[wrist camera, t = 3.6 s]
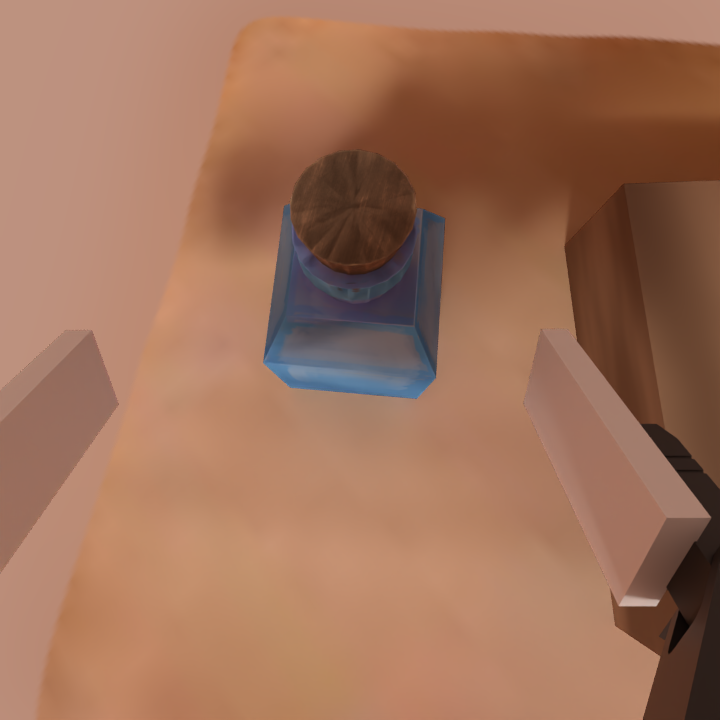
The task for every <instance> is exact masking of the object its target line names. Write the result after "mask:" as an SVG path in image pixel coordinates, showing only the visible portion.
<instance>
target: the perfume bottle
mask: <svg viewBox="0 0 720 720" xmlns="http://www.w3.org/2000/svg"><path fill="white" fill-rule="evenodd" d="M444 229H445V218H443V217H441V216H438V215H436V214H434V213H431V212H429V211H427V210H424V209H420V208H417V205H416V196H415V191H414V189H413V187H412V185H411V183H410V181H409V179H408V176H407V175H406V174H405V173H404V172H403V171H402V170H401V169H400V168H399V167H398V166H397V165H396V164H395V163H394V162H392V161H390V160H389V159H387V158H385V157H383V156H381V155H379V154H377V153H373V152H368V151H363V150H344V151H338V152H335V153H332V154H329V155H327V156H324V157H321V158H320V159H319V160H317V161H316V162H314V163H313V164H312V165H310V166H309V167H308V168H306V170H305V171H304V172H303V174H302V175H301V176H300V178H299V179H298V181H297V182H296V183H295V186H294V189H293V193H292V196H291V199H290V204H288V205H285V206H284V211H283V219H282V226H281V234H280V241H279V249H278V256H277V264H276V271H275V279H274V286H273V294H272V301H271V309H270V316H269V323H268V331H267V338H266V346H265V353H264V361H263V363H264V364H265V365H266V366H267V367H268V368H269V369H270V370H271V371H273V372H274V373H275V374H276V375H277V376H278V377H279V378H280V379H281V380H282V381H284V382H285V383H286V384H287V385H288V386H289V387H290V388H301V389H312V390H324V391H335V392H346V393H358V394H369V395H380V396H392V397H403V398H414V399H417V398H418V397H419V396H420V395H421V394H422V392H423V391H424V390H425V389H426V388H427V387H428V386H429V385H430V384H431V383H432V382H433V381H434V379H435V378H436V367H437V350H438V333H439V316H440V298H441V281H442V264H443V246H444Z"/></svg>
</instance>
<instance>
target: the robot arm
mask: <svg viewBox="0 0 720 720" xmlns="http://www.w3.org/2000/svg"><path fill="white" fill-rule="evenodd" d="M523 404H524V406H525V408H526V410H527V412H528V414H529V416H530V419H531V421H532V423H533V425H534V427H535V429H536V431H537V433H538V436H539V438H540V440H541V442H542V444H543V446H544V448H545V450H546V453H547V455H548V457H549V459H550V461H551V463H552V465H553V468H554V470H555V472H556V474H557V476H558V478H559V480H560V482H561V485H562V487H563V489H564V491H565V493H566V495H567V497H568V499H569V502H570V504H571V506H572V508H573V510H574V512H575V514H576V516H577V519H578V521H579V523H580V525H581V527H582V529H583V531H584V534H585V536H586V538H587V540H588V542H589V544H590V546H591V548H592V551H593V553H594V555H595V557H596V559H597V561H598V563H599V565H600V568H601V570H602V572H603V574H604V576H605V578H606V580H607V582H608V585H609V587H610V589H611V591H612V593H613V595H614V597H615V599H616V602H617V604H618V606H657V604H658V603H659V601H660V600H661V598H662V596H663V595H664V593H665V592H666V590H668V591H669V593H670V595H671V596H672V598H673V600H674V602H675V603H676V605H677V607H678V609H677V610H676V612H675V613H674V615H673V616H672V618H671V619H670V621H669V622H668V624H667V625H666V627H665V628H664V629H663V631H662V632H661V634H660V635H659V637H660V638H662V639H663V640H665V639H666V640H665V643H664V647H663V650H662V654H661V657H660V661H659V664H658V668H657V671H656V675H655V678H654V682H653V685H652V689H651V692H650V696H649V699H648V703H647V706H646V710H645V713H644V717H643V720H720V489H719V488H718V487H717V485H716V484H715V483H714V482H713V481H712V479H711V478H710V477H709V476H708V475H707V473H704V472H703V469H702V467H701V466H700V465H699V464H698V463H697V461H696V460H695V459H692V455H691V454H690V453H689V452H688V450H687V449H686V448H685V447H684V446H683V444H682V443H681V442H680V441H679V440H678V438H676V437H675V436H673V435H672V434H670V433H669V432H668V431H666V430H665V429H663V428H662V427H661V426H659V425H658V424H640V423H639V422H638V421H637V419H636V418H635V417H634V416H633V414H632V413H631V412H630V410H629V409H628V408H627V406H626V405H625V404H624V402H623V401H622V400H621V398H620V397H619V396H618V395H617V393H616V392H615V391H614V389H613V388H612V387H611V385H610V384H609V383H608V381H607V380H606V379H605V377H604V376H603V375H602V374H601V372H600V371H599V370H598V368H597V367H596V366H595V364H594V363H593V362H592V360H591V359H590V358H589V356H588V355H587V354H586V353H585V351H584V350H583V349H582V347H581V346H580V345H579V343H578V342H577V341H576V339H575V338H574V337H573V335H572V334H571V333H570V332H569V330H568V329H541V332H540V336H539V340H538V344H537V349H536V353H535V357H534V361H533V365H532V370H531V374H530V378H529V382H528V386H527V391H526V395H525V399H524V403H523ZM118 405H119V403H118V400H117V398H116V395H115V392H114V390H113V387H112V384H111V381H110V379H109V376H108V373H107V370H106V368H105V365H104V363H103V359H102V357H101V354H100V351H99V349H98V346H97V343H96V340H95V337H94V335H93V332H92V330H65V331H64V332H63V333H62V334H61V335H60V336H59V337H58V338H57V339H56V340H54V341H53V342H52V343H51V344H50V345H49V346H48V347H47V348H46V349H45V350H44V351H43V352H42V353H40V354H39V355H38V356H37V357H36V358H35V359H34V360H33V361H32V362H31V363H29V364H28V365H27V366H26V367H25V368H24V369H23V370H22V371H21V372H20V373H19V374H18V375H16V376H15V377H14V378H13V379H12V380H11V381H10V382H9V383H8V384H7V385H6V386H5V387H3V388H2V390H0V573H1V572H2V570H3V569H4V567H5V566H6V565H7V563H8V562H9V560H10V559H11V557H12V556H13V555H14V553H15V552H16V550H17V549H18V547H19V546H20V545H21V543H22V541H23V540H24V539H25V537H26V536H27V535H28V533H29V532H30V530H31V529H32V527H33V526H34V525H35V523H36V522H37V520H38V519H39V517H40V516H41V515H42V513H43V512H44V510H45V509H46V507H47V506H48V505H49V503H50V502H51V500H52V499H53V497H54V496H55V495H56V493H57V491H58V490H59V489H60V488H61V486H62V484H63V483H64V482H65V480H66V479H67V477H68V476H69V475H70V473H71V472H72V470H73V469H74V467H75V466H76V465H77V463H78V462H79V460H80V459H81V458H82V456H83V455H84V453H85V452H86V450H87V449H88V447H89V446H90V444H91V443H92V442H93V440H94V439H95V437H96V436H97V435H98V433H99V432H100V430H101V429H102V428H103V426H104V425H105V423H106V422H107V420H108V419H109V417H110V416H111V415H112V413H113V412H114V410H115V409H116V407H117V406H118Z"/></svg>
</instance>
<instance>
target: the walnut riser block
mask: <svg viewBox="0 0 720 720" xmlns="http://www.w3.org/2000/svg"><path fill="white" fill-rule="evenodd" d="M565 253H566V261H567V268H568V276H569V283H570V291H571V298H572V306H573V313H574V321H575V328H576V336H577V342H578V343H579V345H580V346H581V347H582V349H583V350H584V351H585V353H586V354H587V355H588V356H589V358H590V359H591V360H592V362H593V363H594V364H595V366H596V367H597V368H598V370H599V371H600V372H601V374H602V375H603V376H604V377H605V379H606V380H607V381H608V383H609V384H610V385H611V387H612V388H613V389H614V391H615V392H616V393H617V395H618V396H619V397H620V398H621V400H622V401H623V402H624V404H625V405H626V406H627V408H628V409H629V410H630V412H631V413H632V414H633V416H634V417H635V418H636V419H637V421H638V422H639V423H640V424H658V425H659V426H661V427H662V428H663V429H665V430H666V431H668V432H669V433H670V434H672V435H673V436H675V437H676V438H678V440H679V441H680V442H681V443H682V444H683V446H684V447H685V448H686V449H687V450H688V452H689V453H690V454H691V455H692V459H695V460H696V461H697V463H698V464H699V465H700V466H701V467H702V469H703V472H704V473H707V475H708V476H709V477H710V478H711V479H712V481H713V482H714V483H715V484H716V485H717V487H718V488H719V489H720V180H714V181H686V182H659V183H631V184H623V185H622V186H621V187H620V188H619V189H618V190H617V192H616V193H615V194H614V195H613V196H612V197H611V198H610V199H609V200H608V201H607V202H606V203H605V204H604V205H603V206H602V207H601V208H600V209H599V210H598V211H597V212H596V214H595V215H594V216H593V217H592V218H591V219H590V220H589V221H588V222H587V223H586V224H585V225H584V226H583V227H582V228H581V229H580V230H579V231H578V232H577V233H576V234H575V236H574V237H573V238H572V239H571V240H570V241H569V242H568V243H567V244H566V245H565ZM610 590H611V589H610ZM611 598H612V605H613V613H614V620H615V626H616V627H618V628H619V629H621V630H622V631H624V632H625V633H627V634H628V635H630V636H631V637H633V638H634V639H636V640H637V641H639V642H640V643H642V644H643V645H645V646H646V647H647V648H649V649H650V650H652V651H653V652H655V653H656V654H658V655H659V656H661V654H662V650H663V647H664V643H665V640H666V639H665V640H663V639H662V638H660V637H659V635H660V634H661V632H662V631H663V629H664V628H665V627H666V625H667V624H668V622H669V621H670V619H671V618H672V616H673V615H674V613H675V612H676V610H677V609H678V607H677V605H676V603H675V602H674V600H673V598H672V596H671V595H670V593H669V591H668V590H666V592H665V593H664V595H663V596H662V598H661V600H660V601H659V603H658V604H657V606H618V604H617V602H616V599H615V597H614V595H613V593H612V591H611Z"/></svg>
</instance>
